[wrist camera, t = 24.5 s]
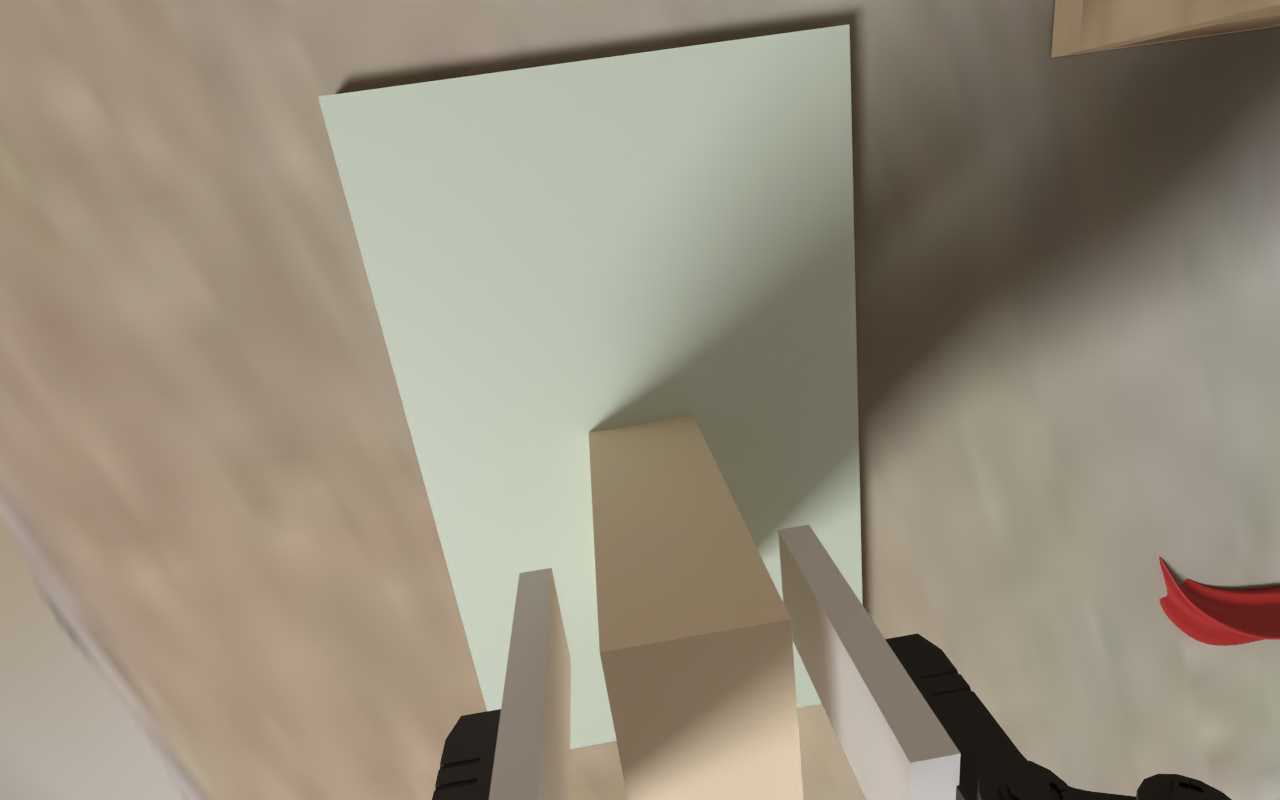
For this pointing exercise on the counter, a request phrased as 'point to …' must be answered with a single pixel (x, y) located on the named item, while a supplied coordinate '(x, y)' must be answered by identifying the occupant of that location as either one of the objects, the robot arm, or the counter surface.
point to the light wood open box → (1152, 22)
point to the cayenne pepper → (1222, 612)
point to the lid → (630, 372)
